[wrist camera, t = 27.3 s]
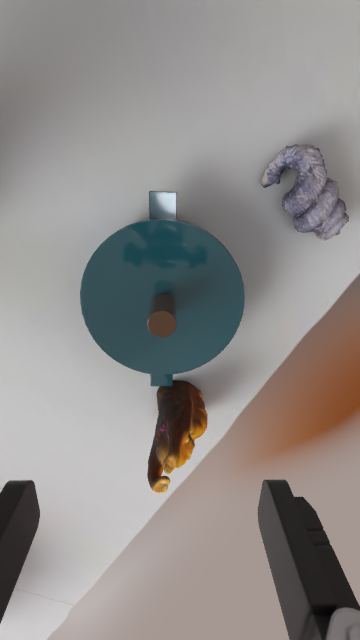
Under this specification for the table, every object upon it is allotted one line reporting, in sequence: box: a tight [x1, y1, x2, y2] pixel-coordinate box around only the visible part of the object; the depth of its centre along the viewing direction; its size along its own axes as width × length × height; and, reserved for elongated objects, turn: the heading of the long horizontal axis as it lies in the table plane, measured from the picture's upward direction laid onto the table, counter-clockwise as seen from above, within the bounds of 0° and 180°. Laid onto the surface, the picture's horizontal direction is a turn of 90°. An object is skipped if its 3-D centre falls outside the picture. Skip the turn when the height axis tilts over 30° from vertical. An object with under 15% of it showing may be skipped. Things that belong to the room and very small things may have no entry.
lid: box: [80, 219, 244, 375], centre depth 28 cm, size 16×16×6 cm
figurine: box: [148, 381, 207, 493], centre depth 35 cm, size 6×7×13 cm
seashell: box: [260, 145, 349, 240], centre depth 30 cm, size 5×5×10 cm
